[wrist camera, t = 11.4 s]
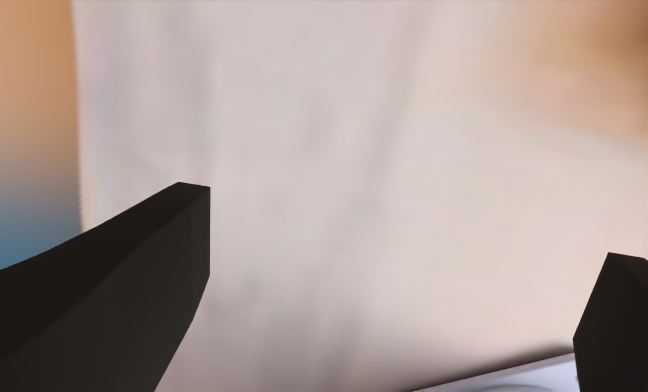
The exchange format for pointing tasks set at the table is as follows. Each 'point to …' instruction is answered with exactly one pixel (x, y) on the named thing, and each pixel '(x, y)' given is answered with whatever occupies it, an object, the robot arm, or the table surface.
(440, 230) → the table surface
